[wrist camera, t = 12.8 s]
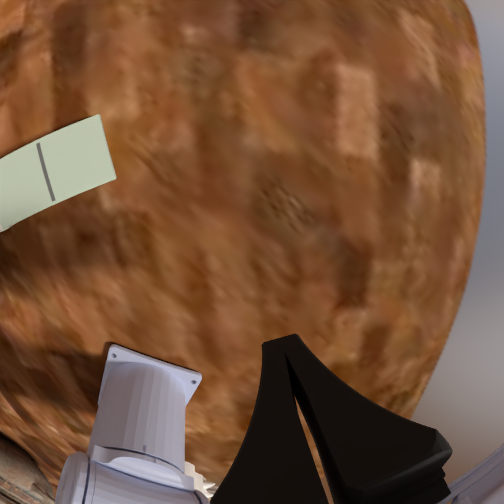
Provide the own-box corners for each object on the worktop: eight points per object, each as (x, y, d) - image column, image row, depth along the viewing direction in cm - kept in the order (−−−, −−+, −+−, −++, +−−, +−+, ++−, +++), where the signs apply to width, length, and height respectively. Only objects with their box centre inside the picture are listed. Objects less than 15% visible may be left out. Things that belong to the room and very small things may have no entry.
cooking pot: (3, 459, 31) (-9, 499, 20) (-50, 403, 23) (-71, 447, 12) (90, 484, 33) (84, 537, 22) (32, 430, 25) (12, 497, 14)
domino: (99, 113, 13) (-16, 168, 11) (116, 178, 15) (3, 229, 12) (101, 117, 15) (-7, 167, 12) (116, 177, 16) (10, 224, 14)
